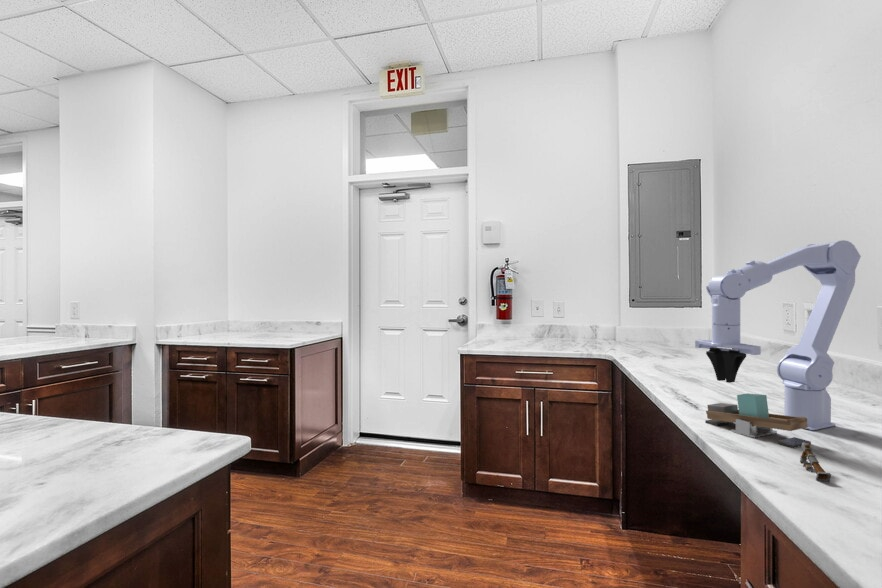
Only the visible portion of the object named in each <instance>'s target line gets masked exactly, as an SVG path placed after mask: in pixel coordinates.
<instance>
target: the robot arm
mask: <svg viewBox="0 0 882 588" xmlns="http://www.w3.org/2000/svg"><path fill="white" fill-rule="evenodd" d="M861 257H862V255H861V254H860V252H859V251H858V249H857V248H856V246H855V245H854V244H853V243H852V242H851V241H849V240H844V239H843V240H842V239H841V240H838V241H833V242H825V243H824V242H823V243H816V244H815V243H813V244H812V243H811V244H806V245H805V246H799V247H797V248H795V249H793V250H791V251H788V252H787V253H784V254H782V255H780V256H777V257H775V258H773V259H771V260H770V261H766V262H764V261H761V260H760V261H759V260H757V261H756V260H749V261H747V262H745V265H744V266H741V267H739V268H736V269H735V268H733V269H729V270H728V271H727V274H719V275H718V274H717V275H714V276H713V277H712V278H711V279H710V280H709V282H708V285H707V286H705V287H706V292H707V293H708V295H709V296H710V299H711V300H710V302H711V340H707V339H695V340H694V347H695V348H696V349H709V350H707V351H706V353H705V354H706V356H707V357H708V359H709V361H710V363H711V365H712V367H713V370H714V373H715V378H716V381H719V382H721V381H725V382H726V383H735V381H736V377H737V374H738V372H739V369H740V366H741V365H742V363H743V362H744V360H745V359H746V358H747V355H752V356H759V355H760V356H761V346H760V345H753V344H746V343H741V298H743V297H744V295H745V294H746V293H747V292H750V291H751V290H754V289H756V288H759V287H761V286H764V285H766V284H768V283H770V282H771V281H772V279H773V276H774V275H777V274H778V275H779V274H780V273H783V272H786V271H789V270H791V269H792V270H793V269H795V268H797V267H803V268H805V270H806V271H808V272H809V273H810V274H811V275H812V276H814V278H815V279H816V280H817V281H819V283H820V284H821V288H820V290H819V291H818V292H819V293H818V295H817V298H816V300H815V302H814V304H813V307H812V309H811V312H810V313H809V314H810V315H809V317H808V320H807V322H806V324H805V326H804V329H803V332H802V333H801V337H800V339H799V341H798V344H796V345H795V346H793V347H791V348H789V349H788V350H787V351H786V353H785V355H784V356H783V357H782V359H780V360H779V361H778V363H777V365H776V373H777V376H778V377H779V378H780V379H781V380H782V385H784V404H783V405H784V414H783V415H786V416H794V417H805V418H807V426H808V427H807V428H804V429H805V430H809V431H817V430H822V429H825V428H831V427H835V426H836V423H835V422H832V398H831V396H830V393H829V392H828V391H827V390H826V389H827V388H828V387H829V386H830V384H831V383H832V380H833V377H834V376H833V367H834V365H835V361H834V360H833V358H832V357H831V356H830V355H829V353H828V351H829V349H830V346H831V345H832V344H831V343H832V341H833V338H834V335H835V334H836V332H837V331H836V330H837V329H838V327H839V325H840V321H841V319H842V318H843V317H842V316H843V314H844V312H845V309H846V307H847V304H848V302H849V299H850V297H851V294H852V292H853V289H854V287H855V283H856V269H857V267H858V264H859V262H860V259H861Z"/></svg>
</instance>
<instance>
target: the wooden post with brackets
mask: <svg viewBox="0 0 882 588" xmlns="http://www.w3.org/2000/svg"><path fill="white" fill-rule="evenodd" d="M801 448H802V453H801V455H800V457H799V463H800V464H803V465H802V467H803V468H805V470H806V471H807V472H810V471H811V473H812V472H813V471H815V473H816V477H815V480H816V481H819V482H820V481H821V482H829V483H830V481H831V478H832V474H831V472H827V471H826V470H824V468H823V467H822V466H821V465H820V462H819V461H818V459H817V457H816V455H815V454H814V453H813V452H812V447H811V444H806V443H804V442H803V443H802V446H801ZM807 460H808V461H807Z"/></svg>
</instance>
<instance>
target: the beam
mask: <svg viewBox="0 0 882 588" xmlns="http://www.w3.org/2000/svg"><path fill="white" fill-rule="evenodd" d="M705 412H706V417H707V420H711V419H713V420H720V421H726V422H733V423H732V424H736V419H737V418H739V419H743V420H746V421H750V422H752V426H760V427H767V428H773V429H775V430H782V431H788V432H792V431H797V430H803V429H805V428H807V427H808V426H807V418H805V417H794V416H786V415H784V414H776V413H769V418H761V417H753V416H746V415H739V408H738V404H734V403H724V402H717V403H711V404H707V410H706V411H705ZM773 429H772V430H773Z"/></svg>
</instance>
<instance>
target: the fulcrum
mask: <svg viewBox="0 0 882 588" xmlns="http://www.w3.org/2000/svg"><path fill="white" fill-rule="evenodd" d="M705 423H706V424H709V425H713V426H715V425H716V426H715V427H720V426H726V425H730V424H729V423H731V424H734V423H733V422H726V421H720V420H713V419H707V420H705ZM725 424H726V425H725ZM731 432H732V433H735V434H738V433H739V435H741V434H743V435H742V436H745V435H747V436H746V437H748V436H750V437H749V438H752V437H754V438H753V439H756V438H755V437H758V438H761V437H760V436H763V437H766V436H765V435H767V436H771V434H772V435H776V434H775V433H777V434H778V431H777V430H776V429H775V430H773V428H767V427H760V426H752V422H750V421H746V420H743V419H739V418H737V419H736V423H735V428H732V429H731ZM803 442H804V443H806V444H809V445H811V443H812V441H810V440H806V439H803V438H799V437H795V436H794V437H790V438H785V439H781V440H777V444H779V445H782V446H785V447H788V448H792V447H793V448H792V449H795V448H794V447H796V448H799V447H798V446H800V447H802V443H803Z"/></svg>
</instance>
